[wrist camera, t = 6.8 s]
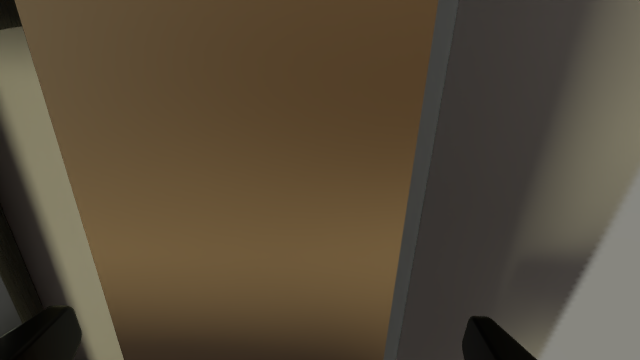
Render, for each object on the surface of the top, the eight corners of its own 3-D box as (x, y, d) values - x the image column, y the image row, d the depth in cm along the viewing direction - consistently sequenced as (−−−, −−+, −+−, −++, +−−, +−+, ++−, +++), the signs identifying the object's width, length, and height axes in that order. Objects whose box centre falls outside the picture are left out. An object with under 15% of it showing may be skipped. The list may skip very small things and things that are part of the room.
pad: (368, 491, 17) (369, 508, 16) (205, 487, 17) (201, 504, 16) (529, -486, 5) (554, -539, 5) (-4, -507, 5) (-42, -564, 5)
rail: (336, 489, 15) (340, 642, 12) (235, 486, 15) (209, 639, 12) (411, -349, 5) (593, -1022, 2) (116, -360, 5) (-309, -1061, 2)
